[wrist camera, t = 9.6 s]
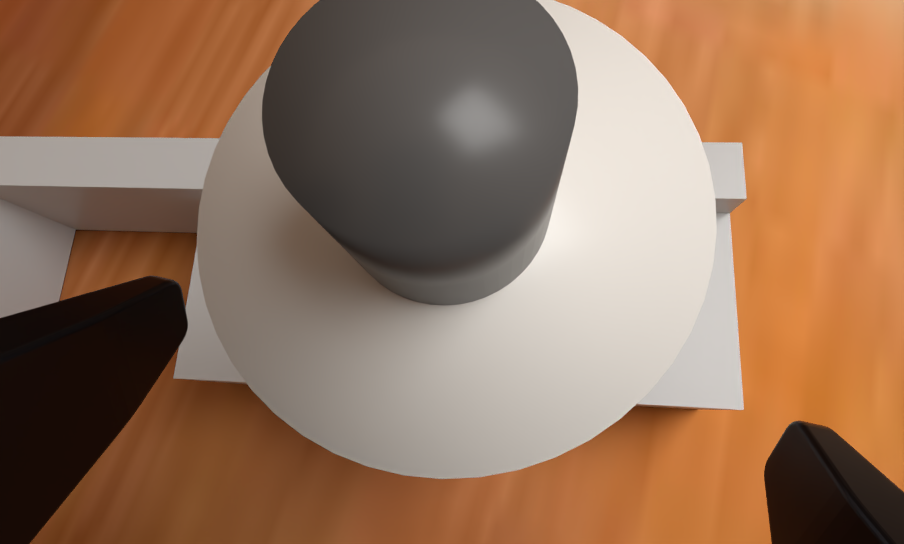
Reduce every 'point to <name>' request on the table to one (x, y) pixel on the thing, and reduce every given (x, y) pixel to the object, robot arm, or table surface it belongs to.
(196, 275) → the cable duct
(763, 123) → the table surface
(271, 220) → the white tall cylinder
